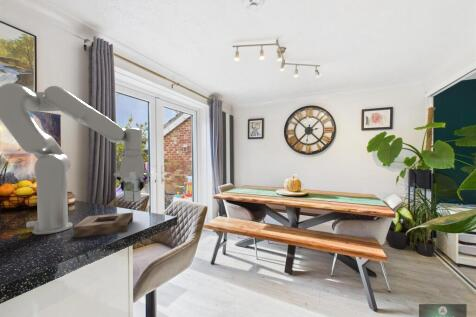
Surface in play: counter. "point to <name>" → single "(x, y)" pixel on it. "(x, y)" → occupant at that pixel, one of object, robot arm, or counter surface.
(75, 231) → the walnut stand
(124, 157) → the robot arm
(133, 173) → the syrup box
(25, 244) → the counter surface
